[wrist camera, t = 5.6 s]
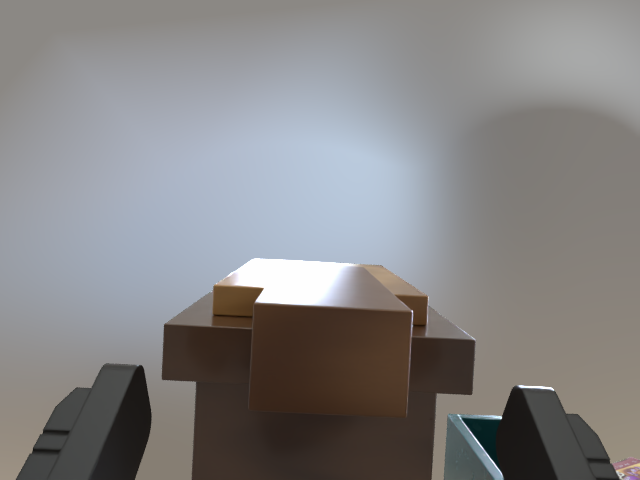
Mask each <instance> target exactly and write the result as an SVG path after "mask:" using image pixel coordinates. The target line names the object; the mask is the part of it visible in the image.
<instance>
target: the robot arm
mask: <svg viewBox="0 0 640 480" xmlns="http://www.w3.org/2000/svg"><path fill="white" fill-rule="evenodd" d="M150 428H151V408H150V402H149V396H148V391H147V384H146V378H145V373H144V368H143V366H142V365H128V364H109V363H107V364H105V365H103V367H102V368H101V370H100V372H99V374H98V376H97V378H96V380H95V382H94V384H93V386H92V388H75V389H74V390H73V391H72V392H71V393H70V394H69V395H68V396H67V397H66V398H65V399H63V400H62V401H61V402H60V403H59V404H58V405H57V406H56V407H55V409H54V411H53V413H52V414H51V416H50V418H49V420H48V422H47V423H46V426H45V427H44V429H43V434H41V435H40V436H39V438H38V440H37V442H36V444H35V445H34V447H33V452H32V454H30V455H29V457H28V458H27V460H26V462H25V464H24V466H23V467H22V469H21V471H20V473H19V475H18V476H17V478H16V480H135V477H136V474H137V471H138V468H139V465H140V462H141V459H142V457H143V454H144V451H145V448H146V444H147V442H148V438H149V434H150ZM496 452H497V458H498V462H499V465H500V468H501V472H502V475H503V478H504V480H620V478H619V476H618V474H617V472H616V470H615V468H614V466H613V464H610V458H609V457H608V454H607V452H606V451H605V448H604V446H603V445H602V442H601V441H600V439H599V437H598V435H597V434H596V433H595V432H594V431H593V430H592V429H591V428H590V427H589V426H588V424H586V422H585V421H584V420H583V419H582V418H581V417H580V416H579V415H578V414H566V413H565V411H564V409H563V407H562V405H561V402H560V400H559V398H558V396H557V394H556V392H555V391H554V390H553V389H552V388H550V387H533V386H514V387H513V389H512V391H511V393H510V396H509V399H508V401H507V404H506V407H505V410H504V413H503V415H502V418H501V421H500V424H499V426H498V429H497V434H496Z"/></svg>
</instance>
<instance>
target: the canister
mask: <svg viewBox="0 0 640 480" xmlns="http://www.w3.org/2000/svg"><path fill="white" fill-rule="evenodd" d="M501 418H502V416H484V415H483V416H482V415H462V414H459V415H457V414H448V420H447V437H446V452H445V467H444V480H504V478H503V475H502V472H501V468H500V465H499V462H498V458H497V452H496V434H497V429H498V426H499V424H500V421H501Z"/></svg>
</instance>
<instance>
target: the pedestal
mask: <svg viewBox="0 0 640 480" xmlns="http://www.w3.org/2000/svg"><path fill="white" fill-rule="evenodd" d="M212 307H213V290H212V291H211V292H209V293H208V294H207V295H205V296H204V297H202V298H201V299H199V300H198V301H197V302H195V303H194V304H192V305H191V306H189V307H188V308H187V309H185V310H184V311H183V312H181V313H180V314H178V315H177V316H175V317H174V318H173V319H171V320H170V321H168V322H167V323H165V324H164V338H163V341H164V342H163V362H162V380H174V381H194V382H196V395H195V418H194V440H193V460H192V461H193V463H192V480H431V479H432V463H433V447H434V446H433V445H434V430H435V415H436V414H435V413H436V398H437V393H442V394H463V395H472V391H473V376H474V361H475V345H476V344H475V343H476V340H475V339H474V338H472V337H471V336H469V335H468V334H467V333H465V332H464V331H463V330H461V329H460V328H458V327H457V326H456V325H454V324H453V323H452V322H450V321H449V320H448V319H446V318H445V317H444V316H442V315H441V314H439V313H438V312H437V311H435V310H434V309H433V308H431V307H430V306H429V305H428V318H427V325H426V326H417V325H412V337H411V354H410V370H409V387H408V403H407V416H406V418H389V417H368V416H347V415H326V414H305V413H284V412H263V411H250V410H249V409H248V403H249V383H250V363H251V343H252V323H253V317H240V316H220V315H213V314H212Z"/></svg>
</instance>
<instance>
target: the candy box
mask: <svg viewBox="0 0 640 480" xmlns="http://www.w3.org/2000/svg"><path fill="white" fill-rule="evenodd" d="M611 464H613V466H614V468H615V470H616V472H617V474H618V476H619V478H620V480H640V460H638V459H635V458H633V457H629V458H626V459H624V460H621V461H618V462H615V463H611Z"/></svg>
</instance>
